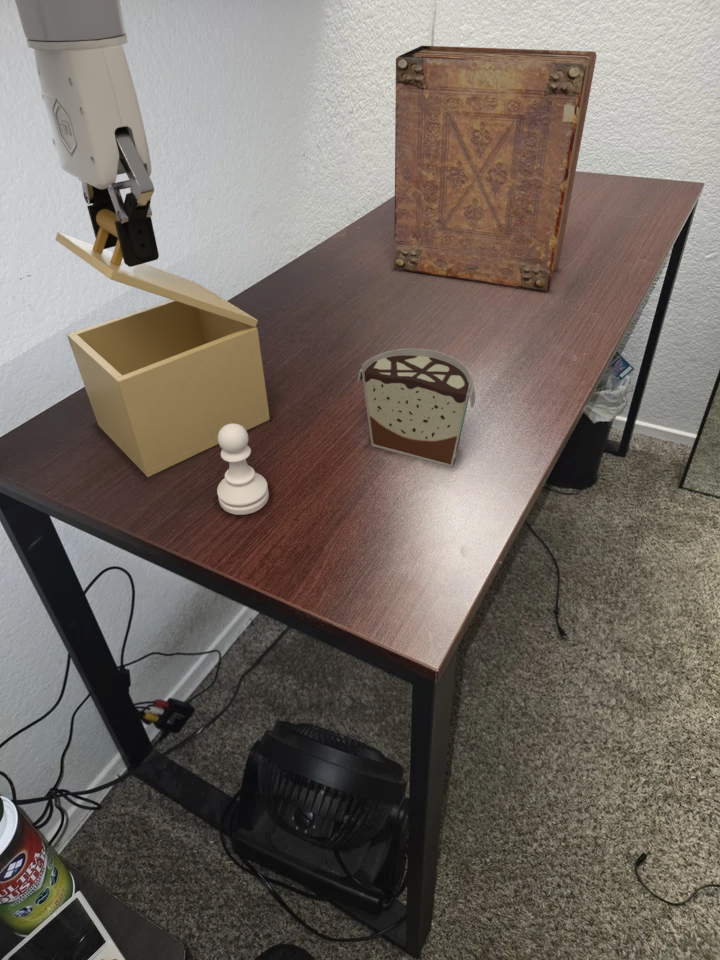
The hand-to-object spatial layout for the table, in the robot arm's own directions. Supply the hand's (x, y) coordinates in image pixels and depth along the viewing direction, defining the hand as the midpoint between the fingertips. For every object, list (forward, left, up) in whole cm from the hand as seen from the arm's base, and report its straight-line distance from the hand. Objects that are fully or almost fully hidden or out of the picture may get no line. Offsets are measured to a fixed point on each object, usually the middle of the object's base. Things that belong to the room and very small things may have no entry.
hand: (128, 251), depth 62 cm
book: (+58, +6, -21) cm, 62 cm away
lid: (+2, 0, -4) cm, 5 cm away
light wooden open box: (+1, 0, -21) cm, 21 cm away
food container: (+19, -21, -21) cm, 35 cm away
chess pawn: (-1, -16, -21) cm, 26 cm away
